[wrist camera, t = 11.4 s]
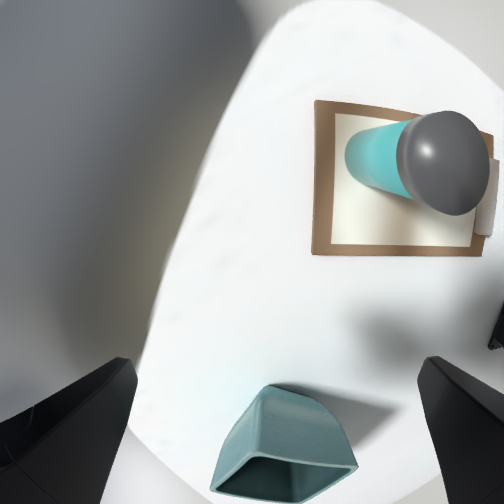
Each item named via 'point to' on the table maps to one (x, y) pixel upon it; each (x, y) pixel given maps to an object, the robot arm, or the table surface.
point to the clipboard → (384, 198)
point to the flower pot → (283, 450)
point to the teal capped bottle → (424, 161)
